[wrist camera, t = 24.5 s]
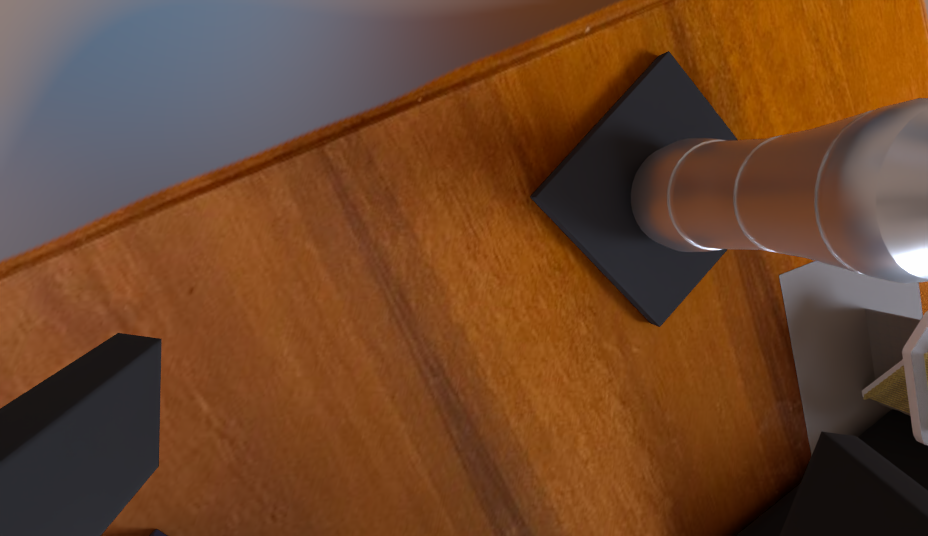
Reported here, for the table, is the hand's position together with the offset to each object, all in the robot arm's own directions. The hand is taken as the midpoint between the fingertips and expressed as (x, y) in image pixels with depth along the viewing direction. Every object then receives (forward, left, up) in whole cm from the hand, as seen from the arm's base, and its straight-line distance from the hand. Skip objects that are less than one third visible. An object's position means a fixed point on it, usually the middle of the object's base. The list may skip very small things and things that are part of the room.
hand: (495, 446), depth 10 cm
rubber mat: (+9, +15, -20) cm, 27 cm away
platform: (+30, +19, -21) cm, 41 cm away
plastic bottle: (+9, +15, -19) cm, 26 cm away
